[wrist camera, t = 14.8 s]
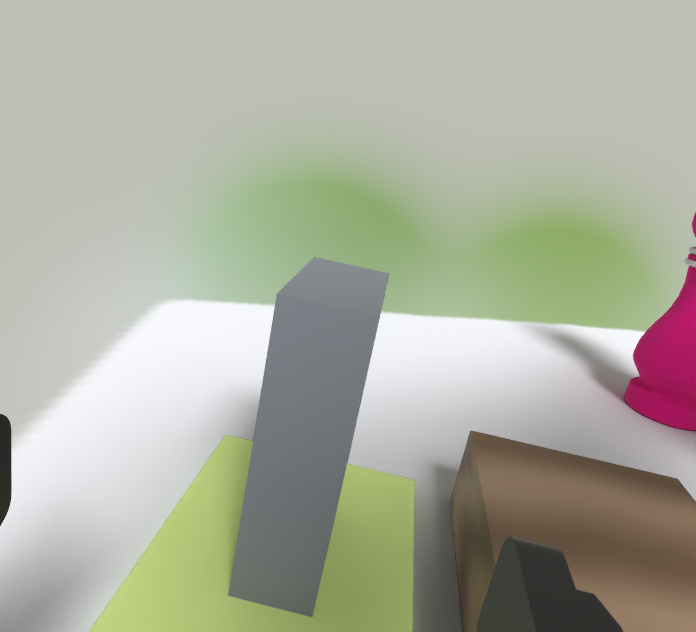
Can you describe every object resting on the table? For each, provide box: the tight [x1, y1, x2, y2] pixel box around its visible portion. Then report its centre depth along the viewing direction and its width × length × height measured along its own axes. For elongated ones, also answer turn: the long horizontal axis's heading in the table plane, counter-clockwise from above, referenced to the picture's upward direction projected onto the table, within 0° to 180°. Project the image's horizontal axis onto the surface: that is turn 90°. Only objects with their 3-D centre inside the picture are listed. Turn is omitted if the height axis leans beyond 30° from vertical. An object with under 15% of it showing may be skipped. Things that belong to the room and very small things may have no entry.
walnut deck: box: [450, 431, 696, 632], centre depth 21 cm, size 14×10×4 cm
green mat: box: [89, 435, 415, 632], centre depth 22 cm, size 14×10×1 cm
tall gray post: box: [228, 257, 389, 617], centre depth 20 cm, size 6×3×11 cm, turn 173°
